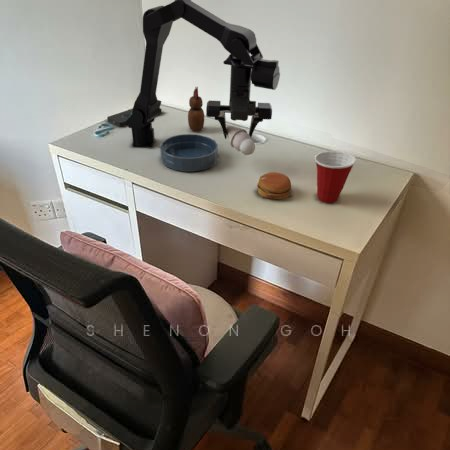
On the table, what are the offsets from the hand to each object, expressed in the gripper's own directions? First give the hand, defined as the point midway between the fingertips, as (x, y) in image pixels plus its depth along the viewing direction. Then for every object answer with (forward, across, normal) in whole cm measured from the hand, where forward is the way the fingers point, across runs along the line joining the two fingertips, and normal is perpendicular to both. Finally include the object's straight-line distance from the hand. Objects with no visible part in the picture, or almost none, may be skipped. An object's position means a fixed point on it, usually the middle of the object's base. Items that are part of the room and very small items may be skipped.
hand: (237, 139), depth 126 cm
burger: (+8, +11, -17) cm, 22 cm away
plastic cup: (+8, +26, -19) cm, 33 cm away
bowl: (+8, -15, +2) cm, 17 cm away
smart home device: (+8, -38, +36) cm, 53 cm away
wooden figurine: (+8, -14, +26) cm, 31 cm away
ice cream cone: (+2, 0, -1) cm, 3 cm away
